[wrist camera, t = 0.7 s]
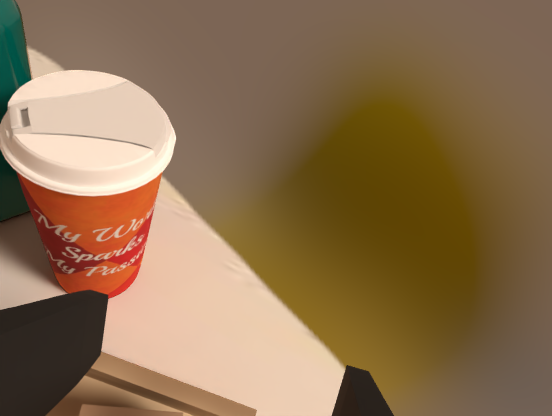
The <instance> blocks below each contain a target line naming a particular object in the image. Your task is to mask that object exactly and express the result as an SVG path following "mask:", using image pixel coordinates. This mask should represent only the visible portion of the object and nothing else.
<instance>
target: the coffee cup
mask: <svg viewBox="0 0 552 416" xmlns="http://www.w3.org/2000/svg"><path fill="white" fill-rule="evenodd" d="M175 141H176V135H175V132H174V129H173V127H172V125H171V123H170V121H169V118H168V116H167V114H166V113H165V111H164V110H163V109H162V108H161V107H160V106H159V104H158V103H157V102H156V100H155V99H154V98H153V97H152V96H151V95H150V94H149V93H147V92H146V91H145V90H143V89H142V88H140V87H138V86H137V85H135V84H134V83H132V82H130V81H128V80H126V79H124V78H121V77H118V76H115V75H111V74H107V73H103V72H95V71H85V70H69V71H60V72H55V73H50V74H46V75H43V76H40V77H37V78H35V79H33V80H31V81H29V82H27V83H26V84H24V85H23V86H21V87H20V88H19V89H18V90H17V91H16V92H15V93H14V94H13V96H12V97H11V99H10V100H9V102H8V111H7V112H6V114H5V116H4V117H3V119H2V121H1V124H0V149H1V151H2V153H3V155H4V157H5V159H6V160H7V162H8V163H9V164H10V165H11V167H12V168H13V169H14V170H16V172H17V175H18V178H19V181H20V184H21V187H22V190H23V193H24V196H25V198H26V201H27V203H28V206H29V208H30V211H31V213H32V216H33V218H34V221H35V223H36V226H37V229H38V231H39V234H40V237H41V240H42V242H43V245H44V248H45V251H46V253H47V256H48V259H49V261H50V264H51V266H52V269H53V271H54V274H55V276H56V278H57V280H58V282H59V284H60V285H61V286H62V288H63V289H64V290H65V291H66V292H68V293H73V292H78V291H83V290H94V291H97V292H100V293H104V294H107V295H109V296H108V299H109V298H112V297H115V296H117V295H119V294H121V293H122V292H124V291H125V290H126V289H127V288H128V287H129V286H130V285H131V284H132V283H133V282H134V280H135V278H136V277H137V274H138V272H139V269H140V265H141V262H142V258H143V254H144V249H145V245H146V241H147V237H148V233H149V228H150V224H151V220H152V215H153V211H154V206H155V202H156V197H157V193H158V189H159V184H160V180H161V175H162V171H164V169H165V168H166V166H167V165H168V163H169V162H170V160H171V157H172V155H173V149H174V145H175Z"/></svg>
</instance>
